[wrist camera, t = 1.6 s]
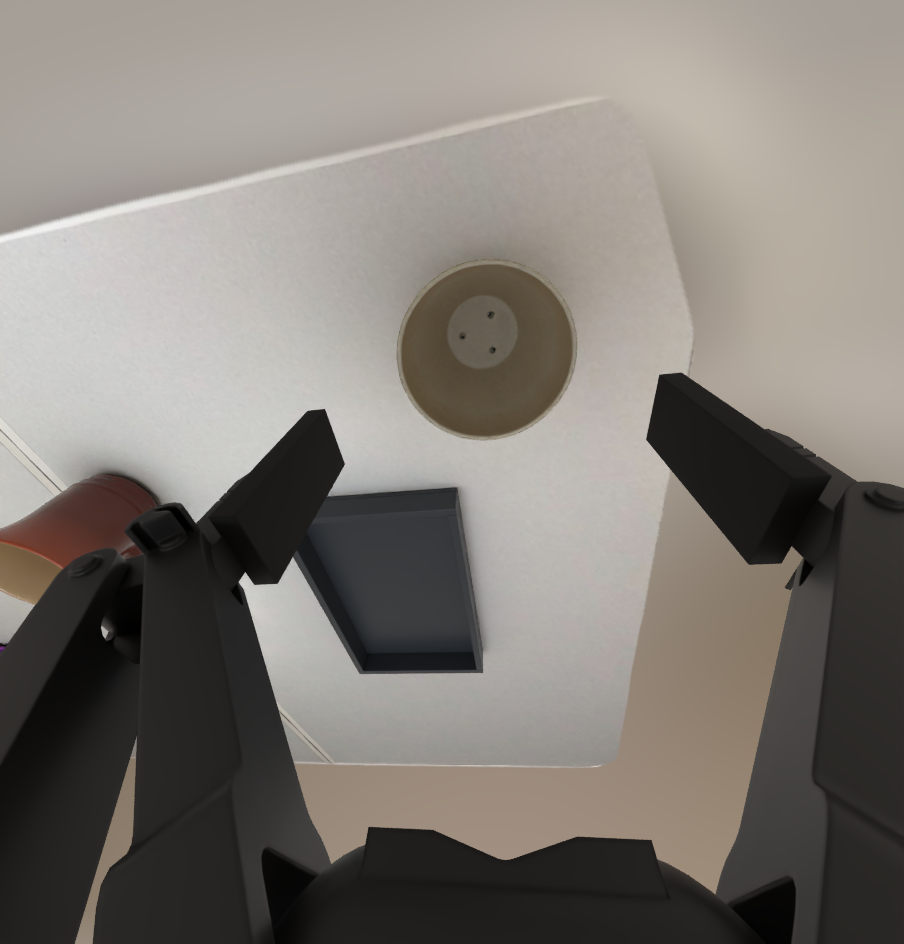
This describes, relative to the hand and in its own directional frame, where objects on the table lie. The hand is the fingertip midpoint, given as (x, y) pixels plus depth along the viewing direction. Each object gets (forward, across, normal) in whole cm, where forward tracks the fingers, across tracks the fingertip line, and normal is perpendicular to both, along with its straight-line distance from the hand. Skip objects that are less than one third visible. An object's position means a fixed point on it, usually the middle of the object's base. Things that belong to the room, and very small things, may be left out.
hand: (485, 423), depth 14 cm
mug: (+14, -38, -13) cm, 43 cm away
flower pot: (+14, 0, 0) cm, 14 cm away
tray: (+14, -12, -28) cm, 34 cm away
